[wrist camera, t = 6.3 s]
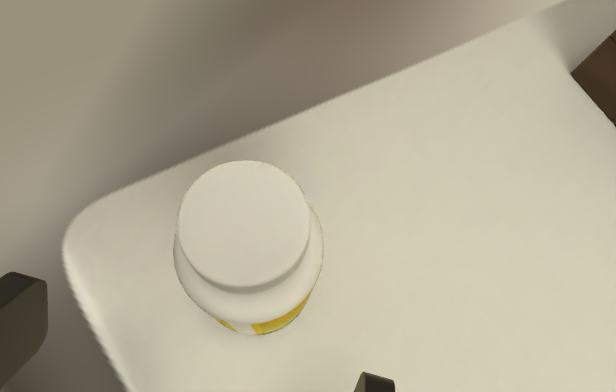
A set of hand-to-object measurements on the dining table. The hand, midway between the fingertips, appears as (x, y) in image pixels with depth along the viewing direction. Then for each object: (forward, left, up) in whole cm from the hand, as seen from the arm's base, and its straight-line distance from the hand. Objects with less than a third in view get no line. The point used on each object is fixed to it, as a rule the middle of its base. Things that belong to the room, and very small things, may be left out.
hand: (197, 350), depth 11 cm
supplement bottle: (-2, +3, -11) cm, 11 cm away
